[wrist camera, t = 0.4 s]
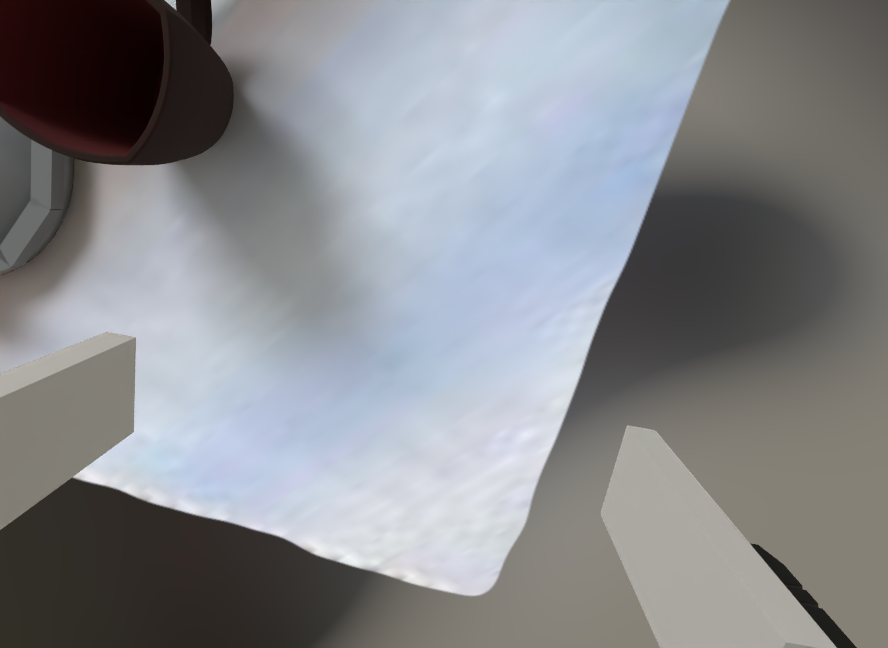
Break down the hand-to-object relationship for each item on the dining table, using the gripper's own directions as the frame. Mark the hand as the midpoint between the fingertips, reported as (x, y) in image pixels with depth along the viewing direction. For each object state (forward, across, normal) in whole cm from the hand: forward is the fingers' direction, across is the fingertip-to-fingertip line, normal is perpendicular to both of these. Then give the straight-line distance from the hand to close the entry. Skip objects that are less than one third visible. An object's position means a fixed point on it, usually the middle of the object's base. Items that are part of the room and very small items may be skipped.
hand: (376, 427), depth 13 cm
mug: (+28, -19, +11) cm, 35 cm away
